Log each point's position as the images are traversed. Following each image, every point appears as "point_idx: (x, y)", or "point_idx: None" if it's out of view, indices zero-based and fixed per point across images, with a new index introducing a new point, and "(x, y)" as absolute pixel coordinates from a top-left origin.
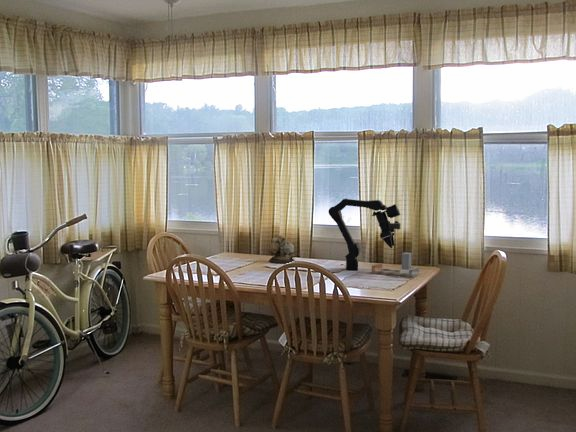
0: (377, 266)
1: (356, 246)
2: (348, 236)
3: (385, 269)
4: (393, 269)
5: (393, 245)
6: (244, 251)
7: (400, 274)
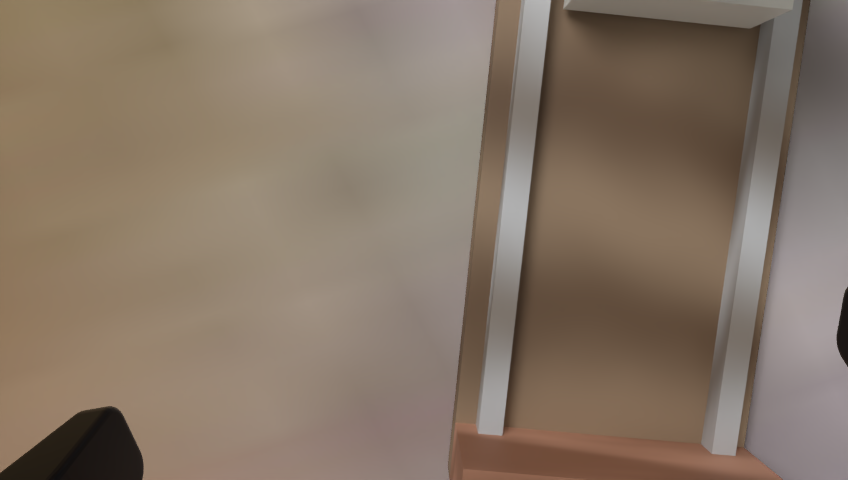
0: (678, 474)
1: None
2: None
3: (508, 351)
4: (501, 213)
5: (130, 448)
6: None
7: None
